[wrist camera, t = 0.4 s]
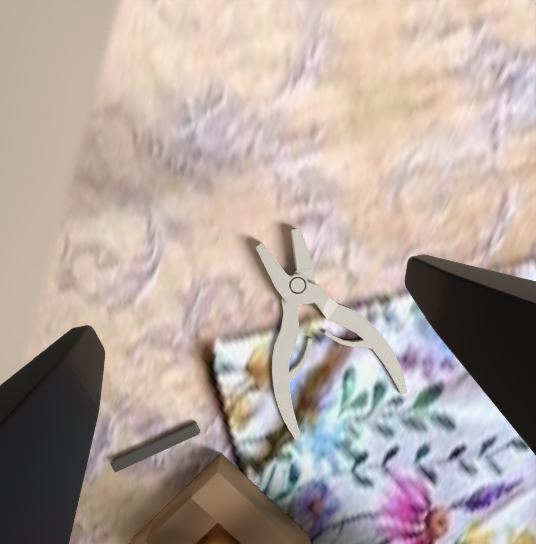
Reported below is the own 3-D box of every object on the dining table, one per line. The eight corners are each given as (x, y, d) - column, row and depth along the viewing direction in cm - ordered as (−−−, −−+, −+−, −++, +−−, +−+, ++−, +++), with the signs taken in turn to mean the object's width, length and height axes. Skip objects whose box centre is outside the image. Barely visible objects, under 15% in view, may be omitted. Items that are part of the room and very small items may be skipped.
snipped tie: (195, 421, 23) (194, 424, 23) (200, 430, 23) (199, 433, 23) (112, 459, 23) (110, 463, 23) (117, 468, 23) (114, 472, 23)
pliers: (294, 448, 22) (212, 263, 21) (291, 435, 24) (215, 262, 23) (416, 396, 23) (341, 208, 21) (405, 386, 24) (335, 211, 23)
